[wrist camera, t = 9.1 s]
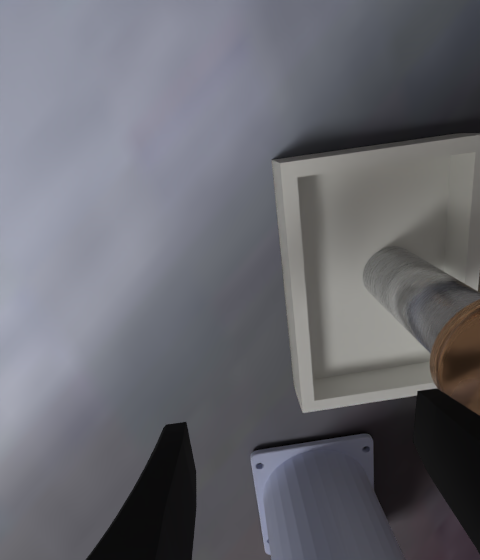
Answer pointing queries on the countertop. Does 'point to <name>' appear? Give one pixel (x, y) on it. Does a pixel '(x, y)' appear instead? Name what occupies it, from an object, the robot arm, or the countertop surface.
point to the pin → (432, 317)
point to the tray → (357, 251)
